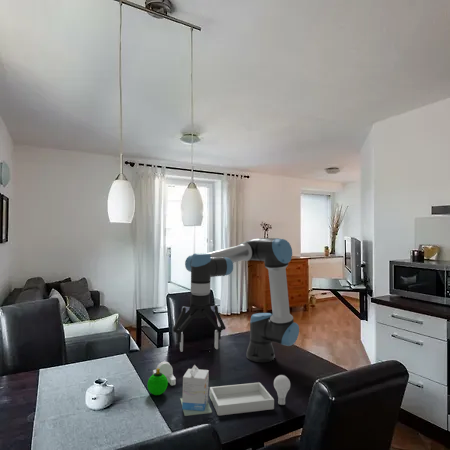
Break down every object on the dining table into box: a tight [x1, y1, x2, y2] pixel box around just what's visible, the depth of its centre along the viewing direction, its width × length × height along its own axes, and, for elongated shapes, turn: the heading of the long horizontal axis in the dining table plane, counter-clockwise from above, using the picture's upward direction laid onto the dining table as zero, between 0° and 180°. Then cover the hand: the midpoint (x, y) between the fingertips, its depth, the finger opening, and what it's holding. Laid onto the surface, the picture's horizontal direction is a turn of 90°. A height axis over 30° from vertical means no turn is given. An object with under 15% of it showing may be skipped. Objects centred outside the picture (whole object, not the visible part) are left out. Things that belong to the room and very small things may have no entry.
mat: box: [179, 397, 213, 417], centre depth 123 cm, size 10×12×1 cm
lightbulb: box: [273, 374, 291, 406], centre depth 126 cm, size 6×6×11 cm
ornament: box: [146, 368, 169, 396], centre depth 131 cm, size 8×8×10 cm
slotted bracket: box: [152, 361, 177, 386], centre depth 144 cm, size 13×7×8 cm, turn 26°
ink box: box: [181, 364, 210, 411], centre depth 123 cm, size 9×8×13 cm
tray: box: [208, 381, 275, 416], centre depth 127 cm, size 22×15×4 cm
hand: (199, 349), depth 125 cm, fingers open, 13 cm apart
